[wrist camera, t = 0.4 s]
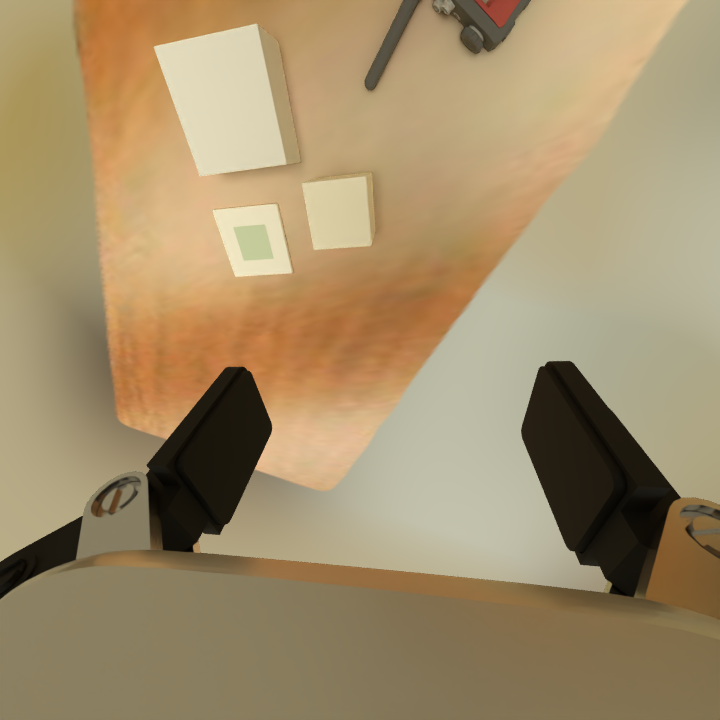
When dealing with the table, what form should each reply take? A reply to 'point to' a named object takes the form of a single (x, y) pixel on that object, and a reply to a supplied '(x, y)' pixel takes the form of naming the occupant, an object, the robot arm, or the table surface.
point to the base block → (231, 99)
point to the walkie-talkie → (472, 9)
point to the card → (254, 239)
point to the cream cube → (340, 211)
